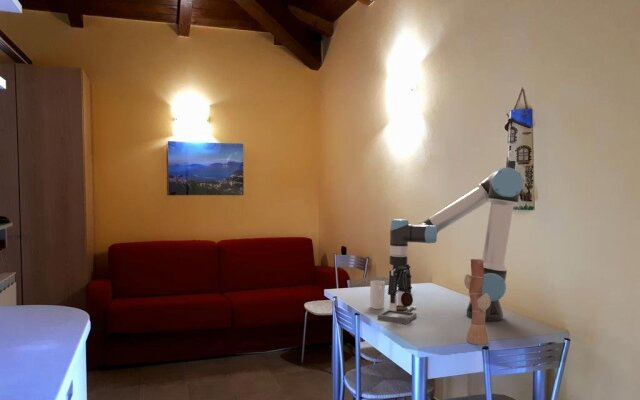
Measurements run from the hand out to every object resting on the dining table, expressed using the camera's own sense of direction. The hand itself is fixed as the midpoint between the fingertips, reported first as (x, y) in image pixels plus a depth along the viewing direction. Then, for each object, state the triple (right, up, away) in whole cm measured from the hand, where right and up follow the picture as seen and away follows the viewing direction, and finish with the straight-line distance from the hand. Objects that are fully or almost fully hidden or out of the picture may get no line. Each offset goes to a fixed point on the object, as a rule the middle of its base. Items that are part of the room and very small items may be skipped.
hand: (397, 308), depth 206 cm
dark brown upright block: (+13, -4, +59) cm, 60 cm away
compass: (+2, 0, -2) cm, 3 cm away
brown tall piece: (+24, -5, -30) cm, 39 cm away
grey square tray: (0, -4, 0) cm, 4 cm away
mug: (-6, -4, +18) cm, 19 cm away
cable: (+7, -4, +11) cm, 14 cm away
